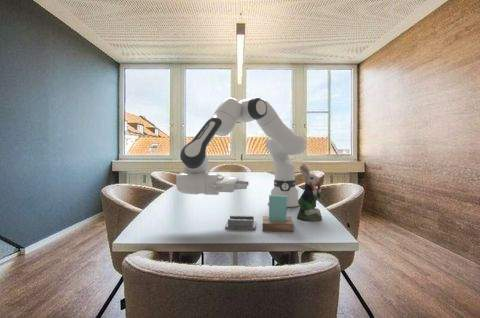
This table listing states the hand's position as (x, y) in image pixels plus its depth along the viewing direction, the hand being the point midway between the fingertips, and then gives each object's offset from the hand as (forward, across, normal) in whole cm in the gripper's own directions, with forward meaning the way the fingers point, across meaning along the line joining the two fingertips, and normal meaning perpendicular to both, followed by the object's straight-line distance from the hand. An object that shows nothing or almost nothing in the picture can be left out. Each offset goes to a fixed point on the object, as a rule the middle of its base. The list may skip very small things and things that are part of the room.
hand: (247, 185), depth 129 cm
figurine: (+27, +17, +17) cm, 37 cm away
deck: (+12, 0, +17) cm, 21 cm away
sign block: (+12, 0, +14) cm, 19 cm away
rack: (-3, 0, +17) cm, 17 cm away
